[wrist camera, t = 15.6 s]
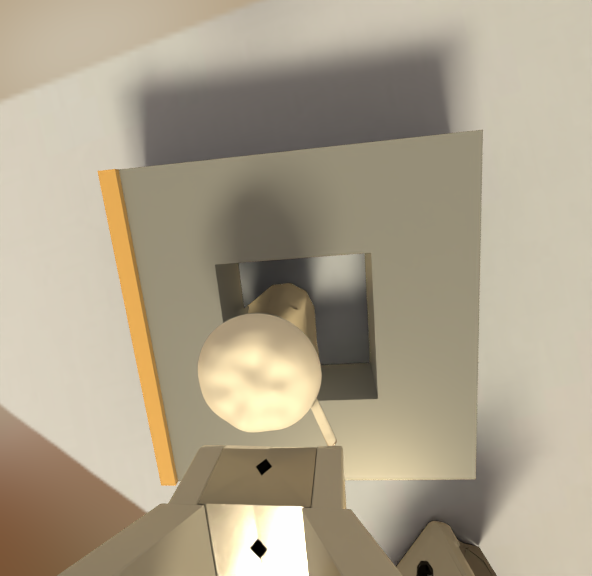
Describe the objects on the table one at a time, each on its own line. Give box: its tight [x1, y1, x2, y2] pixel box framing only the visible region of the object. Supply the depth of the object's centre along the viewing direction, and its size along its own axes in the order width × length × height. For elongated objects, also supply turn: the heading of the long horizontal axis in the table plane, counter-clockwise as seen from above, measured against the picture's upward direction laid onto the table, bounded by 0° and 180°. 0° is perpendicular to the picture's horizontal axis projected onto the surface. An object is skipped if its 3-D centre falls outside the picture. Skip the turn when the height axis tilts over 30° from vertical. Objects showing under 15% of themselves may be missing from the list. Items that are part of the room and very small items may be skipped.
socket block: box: [98, 130, 483, 485], centre depth 19 cm, size 16×16×4 cm
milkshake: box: [198, 283, 337, 446], centre depth 17 cm, size 4×5×10 cm
